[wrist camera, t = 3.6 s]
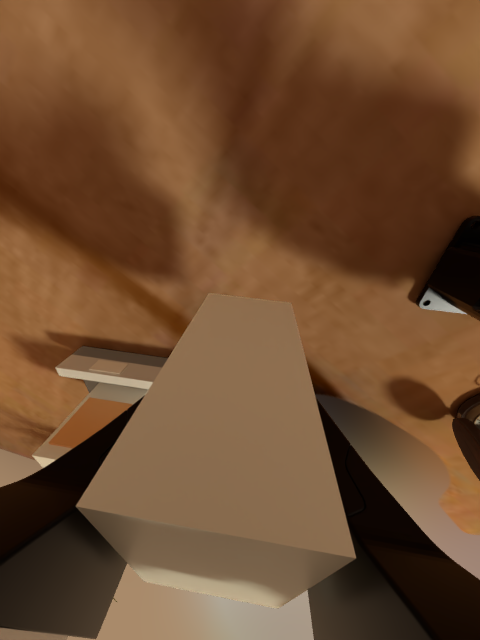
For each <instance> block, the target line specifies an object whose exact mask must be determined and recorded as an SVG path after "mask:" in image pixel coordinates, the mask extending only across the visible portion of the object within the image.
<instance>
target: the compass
mask: <svg viewBox="0 0 480 640" xmlns="http://www.w3.org/2000/svg"><path fill="white" fill-rule="evenodd" d="M452 427H453V432H454V435H455V438H456V440H457V442H458V445H459V447H460V449H461V451H462V453H463V455H464V457H465V459H466V460H467V462H468V464H469V466H470V467H471V469H472V470H473V472H474V473H475V475H476V476H477V478H478V479H479V480H480V394H479V395H477V396H475V397H473V398H471V399H469V400H467V401H466V402H465V403H463V404H462V406H461V407H460V408H459V410H458V412H457V418H455V419H453V422H452Z"/></svg>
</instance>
